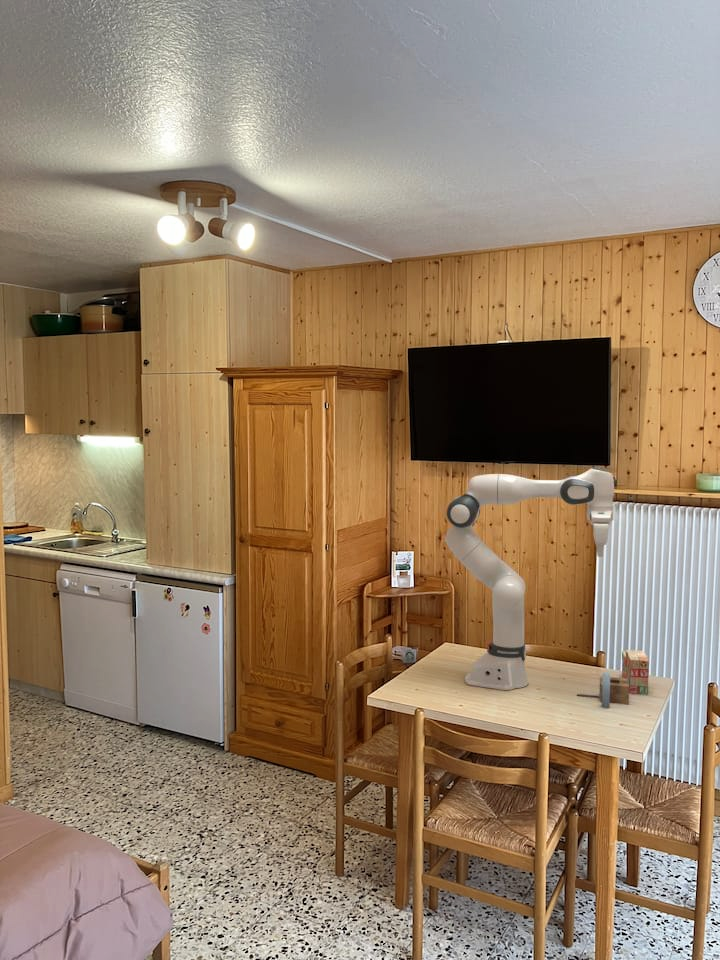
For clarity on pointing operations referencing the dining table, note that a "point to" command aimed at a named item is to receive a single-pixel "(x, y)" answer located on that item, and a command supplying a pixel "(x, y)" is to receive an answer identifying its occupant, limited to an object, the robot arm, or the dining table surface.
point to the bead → (617, 690)
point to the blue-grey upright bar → (606, 690)
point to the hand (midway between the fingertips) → (599, 554)
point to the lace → (587, 695)
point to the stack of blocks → (636, 671)
